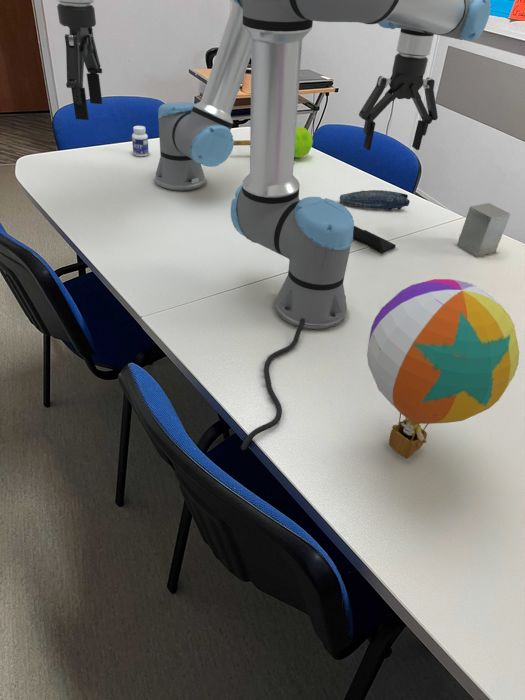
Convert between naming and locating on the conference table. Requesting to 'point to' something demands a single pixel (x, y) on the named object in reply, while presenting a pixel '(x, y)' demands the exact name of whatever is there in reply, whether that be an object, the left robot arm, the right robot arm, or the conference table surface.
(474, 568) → the conference table surface
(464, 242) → the metal block
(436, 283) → the toy
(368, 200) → the fish model
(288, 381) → the conference table surface
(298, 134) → the decorative tree
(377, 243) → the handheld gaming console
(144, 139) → the pill bottle
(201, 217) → the conference table surface
